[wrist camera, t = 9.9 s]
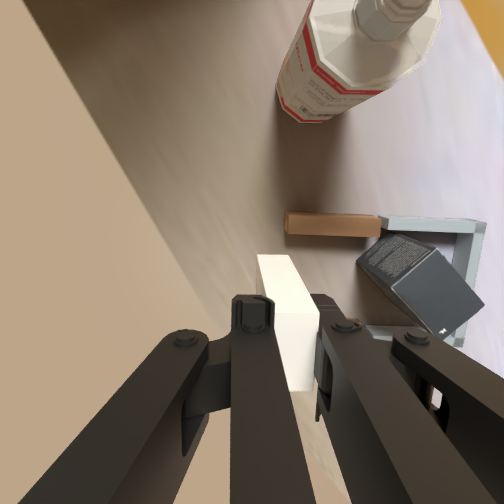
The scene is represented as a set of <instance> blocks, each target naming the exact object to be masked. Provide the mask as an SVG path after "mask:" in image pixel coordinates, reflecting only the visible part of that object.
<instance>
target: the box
mask: <svg viewBox="0 0 504 504" xmlns="http://www.w3.org/2000/svg"><path fill="white" fill-rule="evenodd" d="M356 262H357V264H358V265H359V266H360V267H361V268H362V269H363V270H364V272H365V273H366V274H367V275H368V276H369V277H370V278H371V279H372V280H373V282H374V283H375V284H376V285H377V286H378V287H379V288H380V289H381V291H382V292H383V293H384V294H385V295H386V296H387V297H388V298H389V299H390V300H391V302H392V303H393V304H394V305H395V306H397V307H398V308H399V309H400V310H401V311H403V312H404V313H405V314H406V315H408V316H409V317H410V318H411V319H412V320H414V321H415V322H416V323H417V324H419V325H420V326H421V327H422V328H423V329H424V330H426V331H427V332H428V333H430V334H433V335H435V336H436V337H438V338H439V339H441V340H444V339H445V338H447V337H448V336H449V335H450V334H451V333H453V332H454V331H455V330H456V329H457V328H459V327H460V326H461V325H462V324H464V323H465V322H466V321H467V320H469V319H470V318H471V317H472V316H473V315H475V314H476V313H477V312H478V311H479V310H480V309H481V308H482V307H484V303H483V302H482V301H481V299H480V298H479V297H478V296H477V295H476V294H475V292H474V291H473V290H472V289H471V288H470V286H469V285H468V284H467V283H466V282H465V280H464V279H463V278H462V277H461V276H460V274H459V273H458V272H457V271H456V270H455V268H454V267H453V266H452V265H451V264H450V262H449V261H448V260H447V259H446V258H445V256H444V255H443V254H442V253H441V251H440V250H439V249H438V248H436V247H433V246H430V245H427V244H425V243H422V242H420V241H417V240H414V239H412V238H409V237H407V236H404V235H402V234H399V233H396V232H394V231H389V232H388V233H387V234H386V235H384V236H383V237H382V238H381V239H380V240H379V241H378V242H377V243H375V244H374V245H373V246H372V247H371V248H370V249H369V250H367V251H366V252H365V253H364V254H363V255H362V256H360V257H359V258H358V259H357V260H356Z"/></svg>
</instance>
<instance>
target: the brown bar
mask: <svg viewBox="0 0 504 504" xmlns="http://www.w3.org/2000/svg"><path fill="white" fill-rule="evenodd" d="M381 223H382V219H380V218H377V217H375V216H372V215H360V214H336V213H312V212H288V211H285V219H284V229H285V231H286V232H287V233H288V234H304V235H330V236H355V237H380V231H381ZM348 320H352V321H355V322H358V323H359V324H361V322H360V321H359V320H358V319H348ZM361 325H362V324H361ZM362 326H363V325H362ZM363 327H364V326H363Z"/></svg>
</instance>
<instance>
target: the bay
mask: <svg viewBox="0 0 504 504" xmlns="http://www.w3.org/2000/svg"><path fill="white" fill-rule="evenodd" d="M378 218H380V219H382V223H381V227H382V228H385V229H387V230H407V231H432V232H457V238H456V243H455V249H454V255H453V260H452V266H453V267H454V268H455V270H456V271H457V272H458V273H459V274H460V276H461V277H462V278H463V279H464V280H465V282H466V283H467V284H468V285H469V286H470V288H471V289H472V290H473V291H474V286H475V281H476V276H477V271H478V265H479V260H480V255H481V250H482V245H483V240H484V235H485V229H486V224H487V223H485V222H480V221H476V220H471V219H455V218H431V217H407V216H383V215H379V216H378ZM467 322H468V320H467V321H466V322H465V323H464V324H462V325H461V326H460V327H459V328H457V329H456V330H455V331H454V332H453V333H451V334H450V335H449V336H448V337H447V338H445V339H444V340H443V341H444V342H446V343H447V344H449V345H451V346H452V347H463V343H464V338H465V333H466V327H467ZM401 328H414V329H415V328H418V329H421V330H422V331H426V330H424V329H423V328H422V327H421V326H382V325H365V329H366V330H367V331H368V333H369V334H370V335H371V336H372V338H375V339H381V340H387V341H392V338H393V333H394V332H395V331H396V330H398V329H401ZM426 332H427V331H426Z"/></svg>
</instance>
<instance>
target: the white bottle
mask: <svg viewBox="0 0 504 504" xmlns="http://www.w3.org/2000/svg"><path fill="white" fill-rule="evenodd" d="M441 21H442V18H441V12H440V6H439V0H311V2H310V4H309V6H308V8H307V10H306V13H305V15H304V17H303V19H302V21H301V24H300V26H299V28H298V30H297V32H296V35H295V37H294V39H293V41H292V44H291V46H290V48H289V50H288V52H287V55H286V57H285V59H284V61H283V64H282V67H281V70H280V73H279V76H278V79H277V83H276V89H277V93H278V96H279V100H280V103H281V107H282V109H283V110H284V111H285V112H287V113H288V114H289V115H290V116H292V117H293V118H294V119H295V120H297V121H298V122H299V123H323V122H325V121H327V120H329V119H330V118H332V117H334V116H336V115H338V114H340V113H342V112H344V111H346V110H348V109H350V108H352V107H354V106H356V105H358V104H360V103H362V102H363V101H365V100H367V99H369V98H371V97H373V96H375V95H377V94H379V93H381V92H383V91H385V90H387V89H389V88H391V87H392V86H393V85H395V84H396V83H397V82H399V81H400V80H402V79H403V78H404V77H406V76H407V75H408V74H410V73H411V72H413V71H414V70H415V69H417V68H418V67H419V66H421V65H422V64H424V63H425V61H426V59H427V56H428V54H429V51H430V48H431V46H432V43H433V41H434V38H435V36H436V33H437V31H438V28H439V26H440V23H441Z"/></svg>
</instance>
